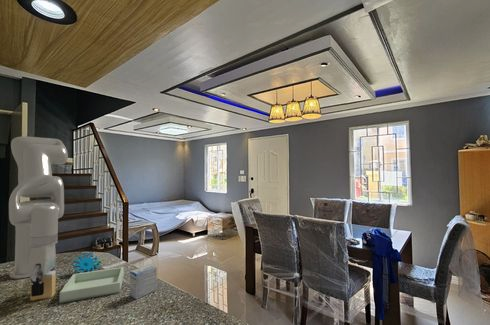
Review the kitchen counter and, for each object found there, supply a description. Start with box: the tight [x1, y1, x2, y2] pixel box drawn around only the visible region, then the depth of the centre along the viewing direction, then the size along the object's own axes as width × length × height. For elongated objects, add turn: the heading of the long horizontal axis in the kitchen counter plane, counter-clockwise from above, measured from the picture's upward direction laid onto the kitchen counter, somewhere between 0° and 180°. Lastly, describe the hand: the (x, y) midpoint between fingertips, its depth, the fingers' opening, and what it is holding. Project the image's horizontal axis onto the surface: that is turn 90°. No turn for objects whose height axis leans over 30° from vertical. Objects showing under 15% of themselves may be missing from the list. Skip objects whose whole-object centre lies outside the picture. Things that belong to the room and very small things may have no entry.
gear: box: [72, 253, 103, 273], centre depth 106 cm, size 11×6×10 cm
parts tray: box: [59, 266, 125, 304], centre depth 91 cm, size 16×18×4 cm
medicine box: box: [129, 264, 158, 300], centre depth 86 cm, size 8×4×9 cm, turn 145°
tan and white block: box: [29, 269, 57, 301], centre depth 85 cm, size 4×6×8 cm, turn 112°
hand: (43, 289), depth 85 cm, fingers open, 9 cm apart
